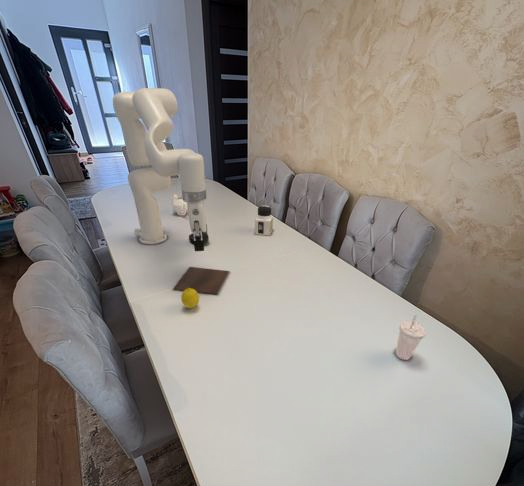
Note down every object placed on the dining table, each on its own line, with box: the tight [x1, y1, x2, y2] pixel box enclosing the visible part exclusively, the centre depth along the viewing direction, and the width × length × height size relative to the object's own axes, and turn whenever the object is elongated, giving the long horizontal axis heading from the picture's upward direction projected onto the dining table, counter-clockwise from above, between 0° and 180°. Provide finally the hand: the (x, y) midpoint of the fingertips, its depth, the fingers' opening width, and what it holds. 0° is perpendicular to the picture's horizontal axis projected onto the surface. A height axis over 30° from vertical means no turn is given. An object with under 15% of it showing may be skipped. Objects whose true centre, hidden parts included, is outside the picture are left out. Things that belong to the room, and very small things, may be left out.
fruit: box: [180, 288, 200, 309], centre depth 99 cm, size 6×6×8 cm
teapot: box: [171, 192, 188, 217], centre depth 172 cm, size 10×20×9 cm, turn 31°
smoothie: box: [395, 314, 427, 361], centre depth 81 cm, size 6×6×14 cm
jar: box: [200, 223, 209, 247], centre depth 140 cm, size 6×6×11 cm
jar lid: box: [188, 232, 210, 246], centre depth 106 cm, size 7×7×2 cm
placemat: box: [173, 266, 230, 296], centre depth 115 cm, size 16×16×1 cm
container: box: [254, 205, 274, 236], centre depth 152 cm, size 8×8×13 cm
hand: (199, 245), depth 107 cm, fingers closed on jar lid, 6 cm apart
